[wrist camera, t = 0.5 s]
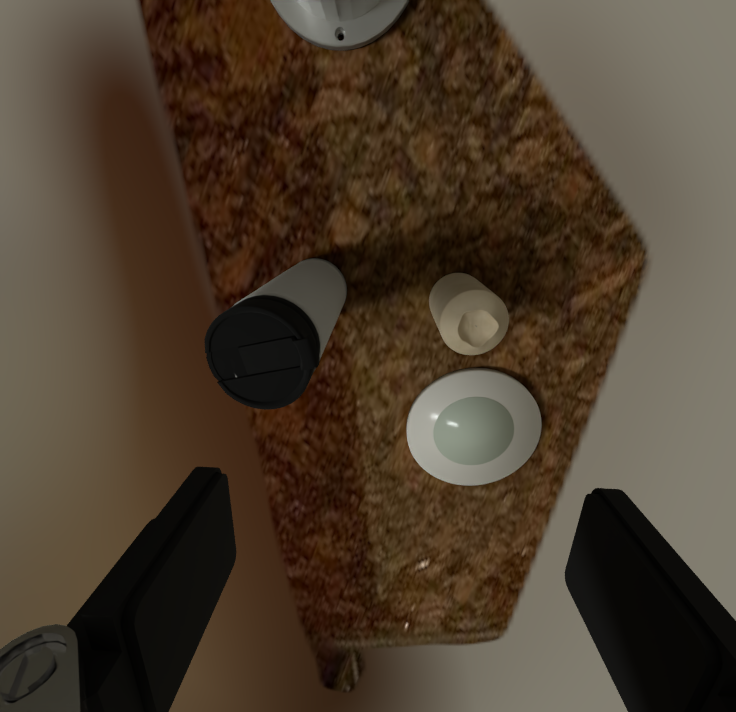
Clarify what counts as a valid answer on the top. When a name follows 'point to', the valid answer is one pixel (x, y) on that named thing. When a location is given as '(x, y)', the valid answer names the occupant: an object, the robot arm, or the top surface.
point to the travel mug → (276, 335)
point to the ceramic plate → (473, 426)
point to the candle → (468, 314)
